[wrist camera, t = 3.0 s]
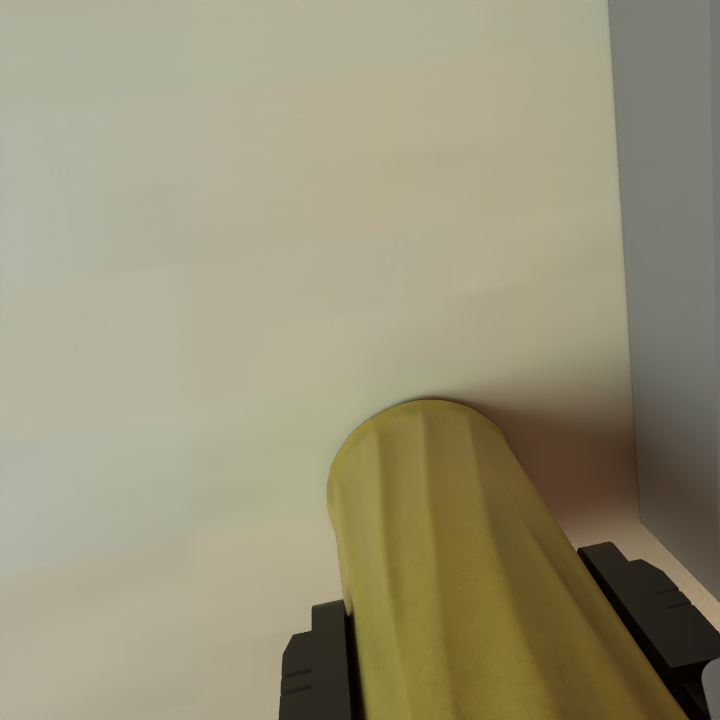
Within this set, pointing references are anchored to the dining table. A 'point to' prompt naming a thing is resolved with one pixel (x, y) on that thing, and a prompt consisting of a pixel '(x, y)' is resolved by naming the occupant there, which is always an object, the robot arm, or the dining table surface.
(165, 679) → the dining table surface
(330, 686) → the robot arm
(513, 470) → the vase
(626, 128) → the socket block
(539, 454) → the dining table surface
